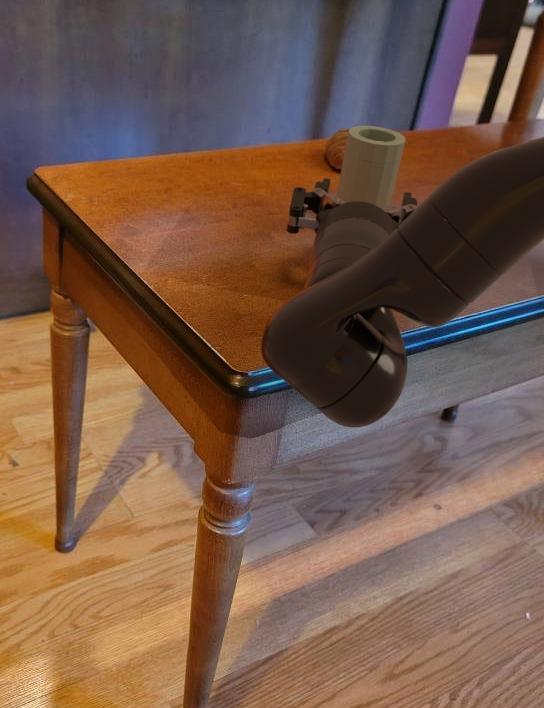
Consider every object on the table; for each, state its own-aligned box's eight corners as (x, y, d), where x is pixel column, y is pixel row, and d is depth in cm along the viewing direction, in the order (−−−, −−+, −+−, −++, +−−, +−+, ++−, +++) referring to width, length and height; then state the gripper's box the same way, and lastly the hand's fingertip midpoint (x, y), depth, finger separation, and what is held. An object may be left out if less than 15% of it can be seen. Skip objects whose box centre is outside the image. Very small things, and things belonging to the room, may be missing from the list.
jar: (384, 223, 89) (406, 131, 83) (381, 245, 84) (404, 148, 78) (333, 214, 90) (351, 122, 83) (328, 235, 85) (346, 138, 78)
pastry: (371, 178, 101) (376, 150, 99) (322, 171, 102) (326, 143, 99) (370, 155, 109) (375, 129, 106) (324, 149, 109) (328, 123, 107)
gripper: (444, 234, 63) (442, 170, 75) (279, 205, 64) (304, 147, 77) (422, 311, 67) (423, 238, 80) (269, 282, 69) (294, 215, 81)
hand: (365, 194), depth 78 cm, fingers open, 8 cm apart
